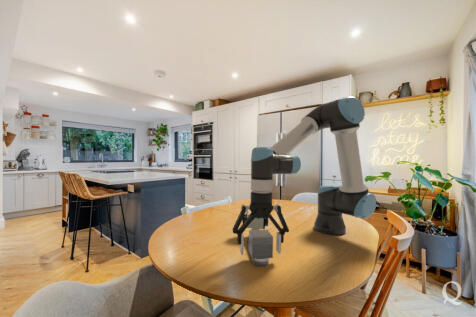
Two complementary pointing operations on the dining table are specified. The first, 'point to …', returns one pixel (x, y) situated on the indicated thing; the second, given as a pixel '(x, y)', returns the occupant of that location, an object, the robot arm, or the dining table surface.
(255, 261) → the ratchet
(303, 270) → the dining table surface
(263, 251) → the gray cube
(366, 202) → the robot arm
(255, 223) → the pneumatic valve
